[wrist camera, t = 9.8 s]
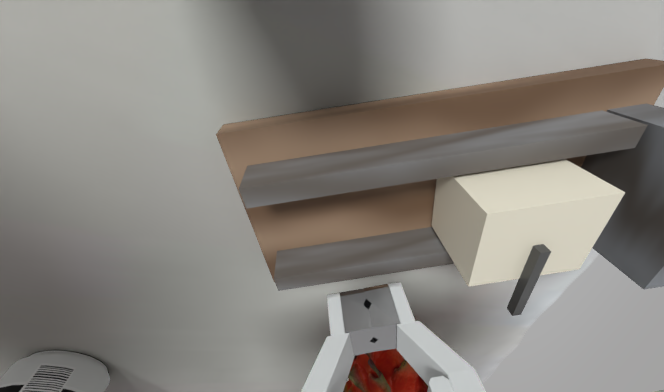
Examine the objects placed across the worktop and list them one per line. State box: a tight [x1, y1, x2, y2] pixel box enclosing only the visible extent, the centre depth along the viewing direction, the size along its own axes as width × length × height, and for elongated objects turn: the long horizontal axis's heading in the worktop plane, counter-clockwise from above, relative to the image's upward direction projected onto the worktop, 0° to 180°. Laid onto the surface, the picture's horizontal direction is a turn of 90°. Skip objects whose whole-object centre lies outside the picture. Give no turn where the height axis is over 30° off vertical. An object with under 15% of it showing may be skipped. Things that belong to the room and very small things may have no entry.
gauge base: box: [216, 59, 664, 291], centre depth 15 cm, size 12×24×8 cm, turn 97°
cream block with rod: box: [432, 159, 625, 316], centre depth 16 cm, size 8×6×6 cm
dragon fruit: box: [343, 349, 428, 392], centre depth 27 cm, size 8×8×12 cm
